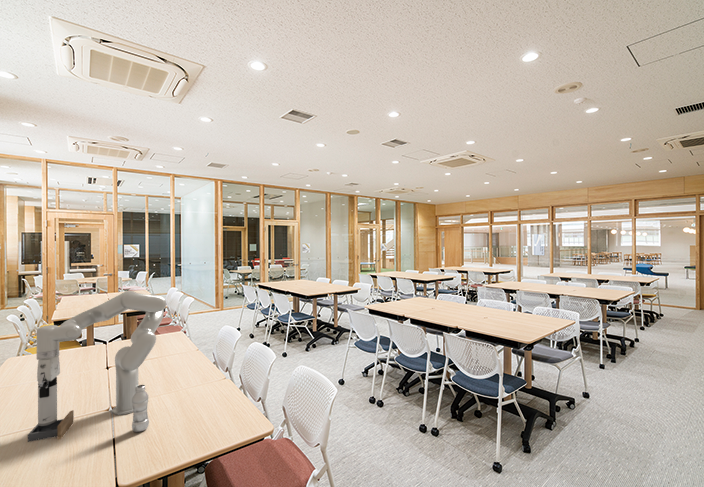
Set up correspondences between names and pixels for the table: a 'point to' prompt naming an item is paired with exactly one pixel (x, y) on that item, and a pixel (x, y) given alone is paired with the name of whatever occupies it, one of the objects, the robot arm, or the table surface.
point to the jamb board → (65, 424)
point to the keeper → (44, 431)
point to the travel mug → (48, 405)
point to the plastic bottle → (140, 409)
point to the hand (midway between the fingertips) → (48, 393)
